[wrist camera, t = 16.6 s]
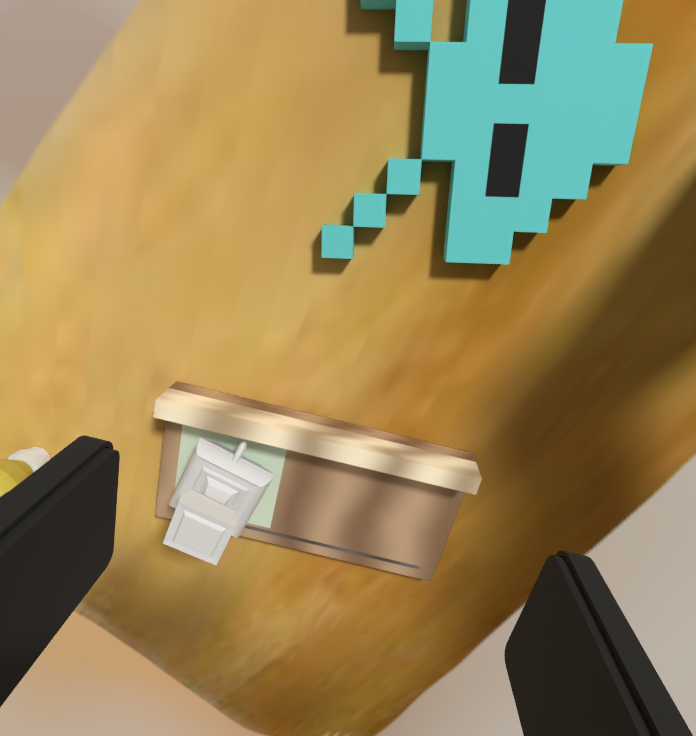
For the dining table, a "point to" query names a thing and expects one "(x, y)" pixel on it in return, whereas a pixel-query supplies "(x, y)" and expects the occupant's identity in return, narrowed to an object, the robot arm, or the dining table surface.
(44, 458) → the light bulb
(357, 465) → the brown piece
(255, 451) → the end mark
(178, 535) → the stamp
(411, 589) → the dining table surface
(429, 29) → the teal pixel sprite
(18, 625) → the robot arm
